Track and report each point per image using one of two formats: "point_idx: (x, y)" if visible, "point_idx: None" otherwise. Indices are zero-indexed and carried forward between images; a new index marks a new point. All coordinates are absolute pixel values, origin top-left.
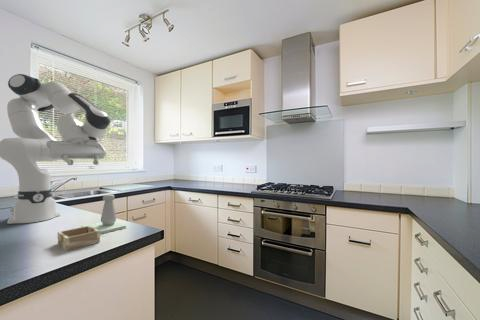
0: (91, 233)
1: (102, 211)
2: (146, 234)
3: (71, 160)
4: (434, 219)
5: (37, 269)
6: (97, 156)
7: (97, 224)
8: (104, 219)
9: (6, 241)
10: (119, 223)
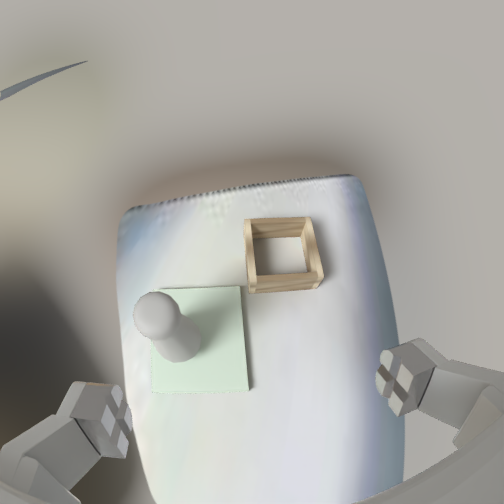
0: (262, 219)
1: (190, 338)
2: (154, 211)
3: (415, 361)
4: (10, 93)
5: (337, 193)
6: (19, 453)
7: (205, 370)
8: (194, 323)
9: None
10: None
